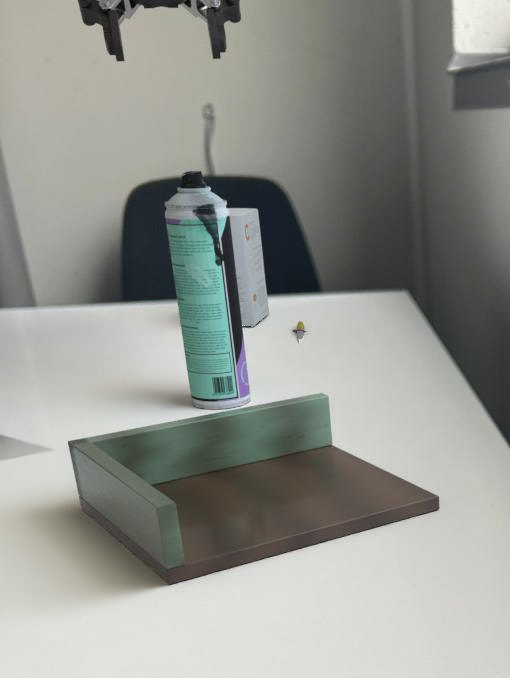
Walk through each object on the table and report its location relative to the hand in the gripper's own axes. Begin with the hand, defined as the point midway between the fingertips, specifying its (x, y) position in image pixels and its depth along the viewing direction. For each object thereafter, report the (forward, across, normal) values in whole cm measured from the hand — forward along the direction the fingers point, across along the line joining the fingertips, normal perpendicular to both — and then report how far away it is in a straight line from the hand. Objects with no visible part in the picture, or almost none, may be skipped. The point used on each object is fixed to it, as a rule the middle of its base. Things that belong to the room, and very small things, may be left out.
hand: (168, 52), depth 92 cm
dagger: (+10, +10, +32) cm, 36 cm away
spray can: (+28, 0, +13) cm, 31 cm away
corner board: (+49, +1, -9) cm, 50 cm away
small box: (+2, +4, +40) cm, 41 cm away
